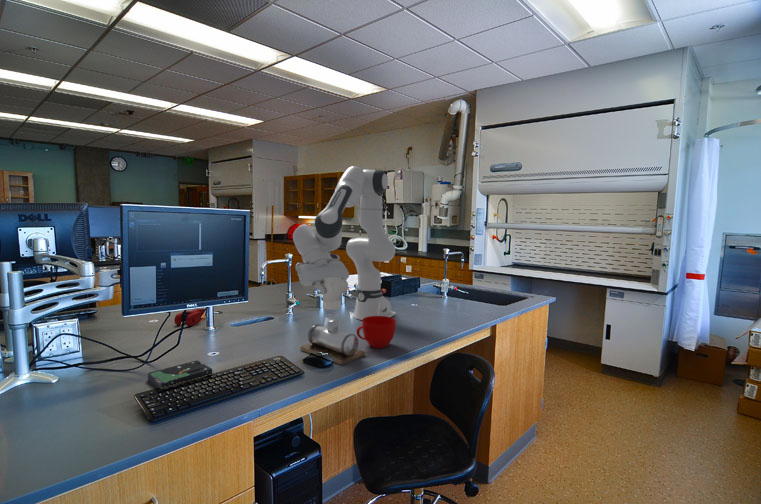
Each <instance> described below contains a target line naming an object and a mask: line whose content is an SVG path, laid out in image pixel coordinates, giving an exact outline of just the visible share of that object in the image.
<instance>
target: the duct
mask: <svg viewBox="0 0 761 504" xmlns="http://www.w3.org/2000/svg"><path fill="white" fill-rule="evenodd" d="M358 338H359V337H358V336H357V334H353V333H346V332H343V331H340V330H339V319H334V318H332V319H327V327H326V326H323V325H322V324H317V323H316V324H314V325H312V326H311V327H310V329H309V330H308V333H307V339H308V343H306V344H304V345H301V346H300V351H302V352H304V353H307V354H310V355H312V354H311V353H318V352H322V353H328V354H331V357H332V358H333V360H334V362H333V363H334V364H338V365H340V366H343V365H346V364H347V363H350V362H353V361H355V360H358V359H361V358H363V357H366V351H364V350H360V349H358V348H359V339H358Z"/></svg>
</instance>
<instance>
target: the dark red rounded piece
mask: <svg viewBox="0 0 761 504" xmlns="http://www.w3.org/2000/svg"><path fill="white" fill-rule="evenodd" d="M204 310H206V308H204V309H197V308H194V309H193V310H186V311H187V318H186V323H185V325H186V326H188V327H193V326H195V325H197V323H198V324H199V322H200V323H201V322H202V321H201V320H202V319H201V314H202V313H204ZM183 312H184V311H182V312H179V313H177V314H176V315H175V316H174V319H173V320H174V325H176V324H177V325H176V326H181V325H180V324H181V322H182V313H183Z"/></svg>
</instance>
